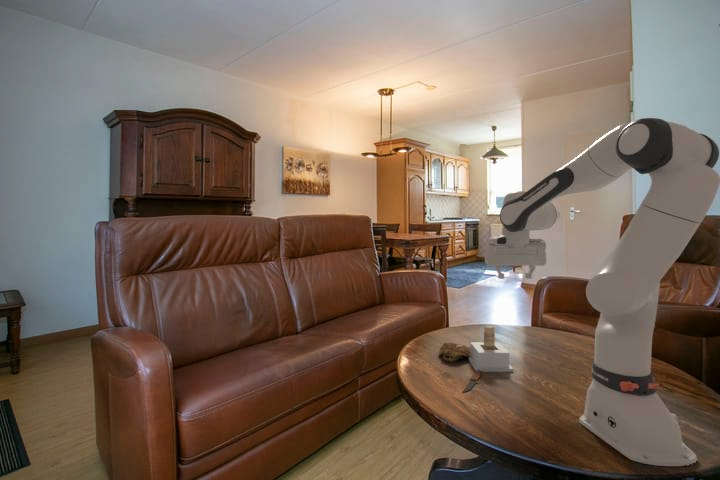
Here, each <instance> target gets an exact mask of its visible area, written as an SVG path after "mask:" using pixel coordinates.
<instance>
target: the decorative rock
mask: <svg viewBox="0 0 720 480" xmlns="http://www.w3.org/2000/svg"><path fill="white" fill-rule="evenodd" d="M438 355H439V356H442V357H443V360H444V361H445V362H446V361H449V362H448V363H456V362H457V360H460V359H463V358H464V357H467V356H468V357H469V355H470V347H468V346H466V345H464V344H459V343H455V342H453V343H452V342H444V343H443V344H442V346H440V348H439V351H438Z"/></svg>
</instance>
